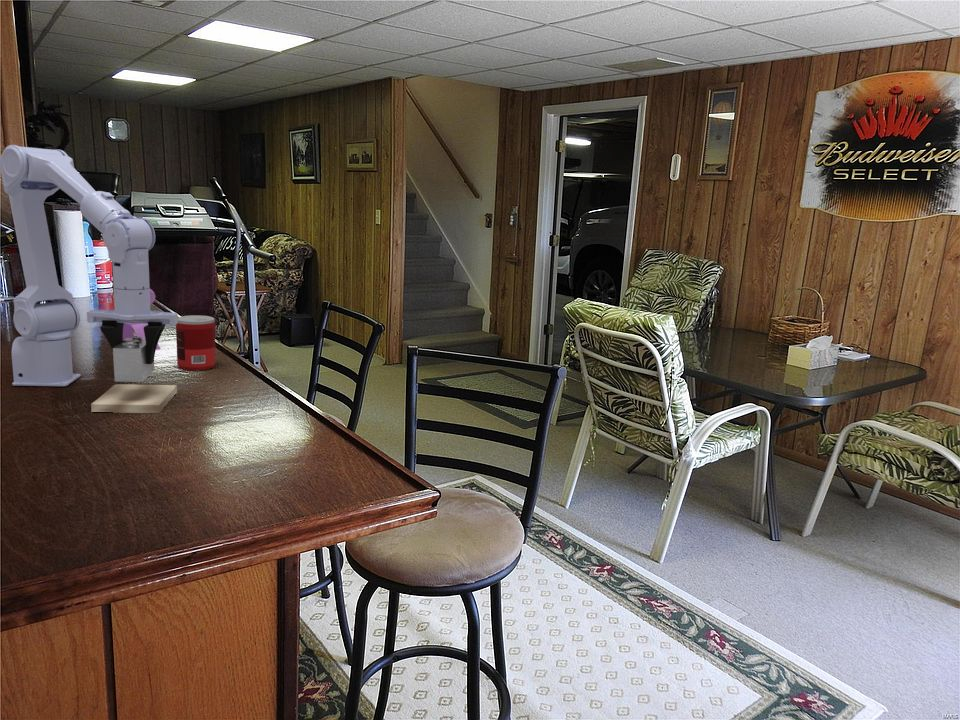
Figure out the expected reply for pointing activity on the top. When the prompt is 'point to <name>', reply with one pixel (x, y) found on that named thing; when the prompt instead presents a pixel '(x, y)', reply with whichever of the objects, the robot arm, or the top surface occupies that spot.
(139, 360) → the housing
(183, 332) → the canned food
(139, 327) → the toy chair
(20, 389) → the top surface
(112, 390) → the stand
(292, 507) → the top surface
